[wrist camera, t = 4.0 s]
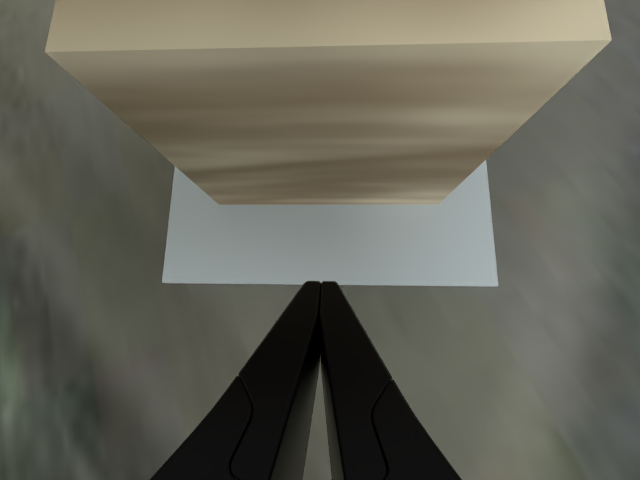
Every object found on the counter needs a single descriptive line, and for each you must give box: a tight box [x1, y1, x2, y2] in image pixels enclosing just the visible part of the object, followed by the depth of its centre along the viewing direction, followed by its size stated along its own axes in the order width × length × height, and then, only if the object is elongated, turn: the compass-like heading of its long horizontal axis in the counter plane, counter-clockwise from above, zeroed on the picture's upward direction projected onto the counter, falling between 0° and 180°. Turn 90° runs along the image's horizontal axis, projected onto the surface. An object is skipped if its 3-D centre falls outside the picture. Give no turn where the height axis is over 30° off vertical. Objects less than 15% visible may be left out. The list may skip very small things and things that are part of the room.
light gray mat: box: [162, 160, 498, 286], centre depth 17 cm, size 17×16×1 cm
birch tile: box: [45, 0, 612, 205], centre depth 11 cm, size 2×11×10 cm, turn 89°
